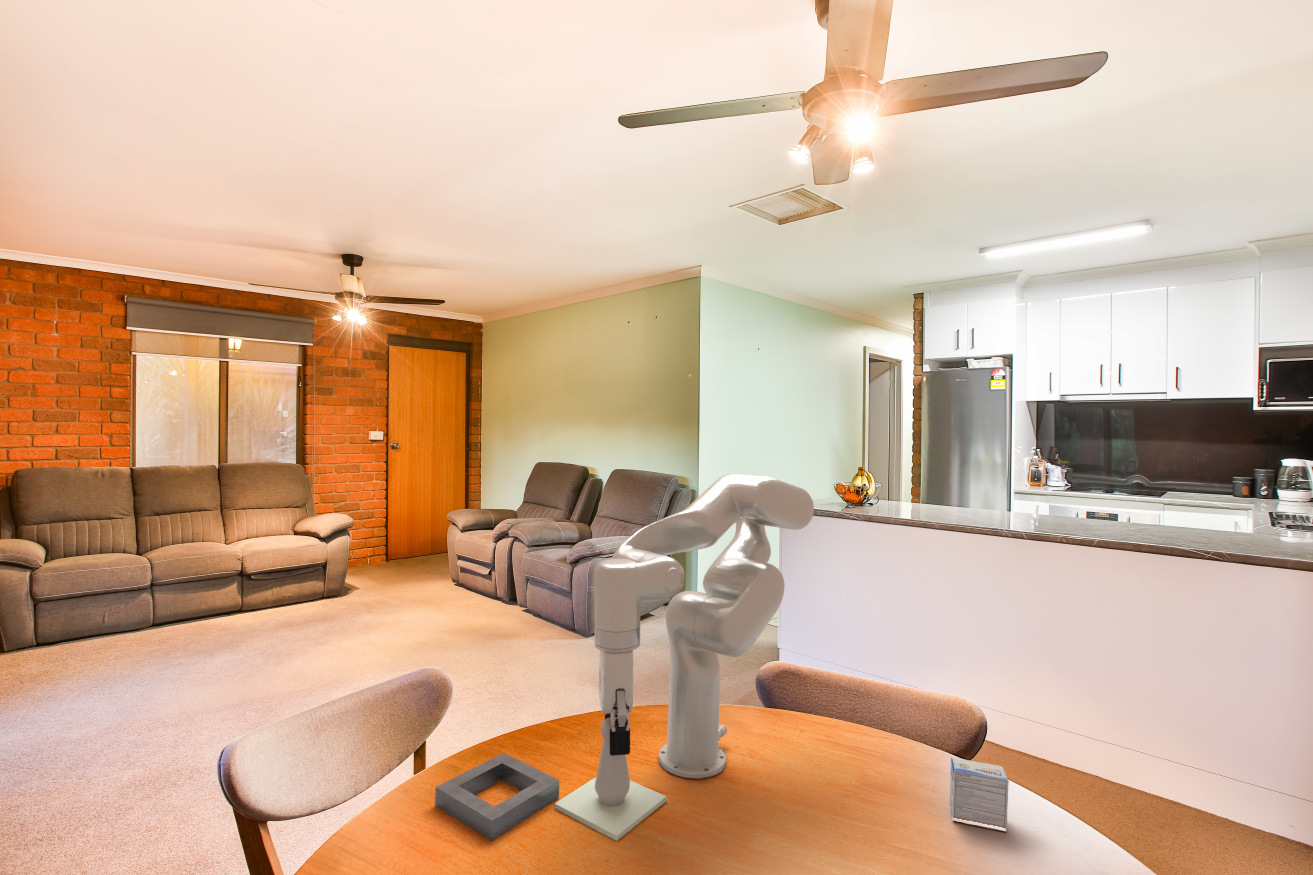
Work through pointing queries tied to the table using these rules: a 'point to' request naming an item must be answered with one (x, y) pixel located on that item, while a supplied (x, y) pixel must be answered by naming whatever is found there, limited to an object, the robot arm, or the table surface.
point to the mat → (610, 808)
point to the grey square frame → (501, 818)
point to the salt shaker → (611, 772)
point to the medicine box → (978, 792)
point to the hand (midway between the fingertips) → (616, 738)
